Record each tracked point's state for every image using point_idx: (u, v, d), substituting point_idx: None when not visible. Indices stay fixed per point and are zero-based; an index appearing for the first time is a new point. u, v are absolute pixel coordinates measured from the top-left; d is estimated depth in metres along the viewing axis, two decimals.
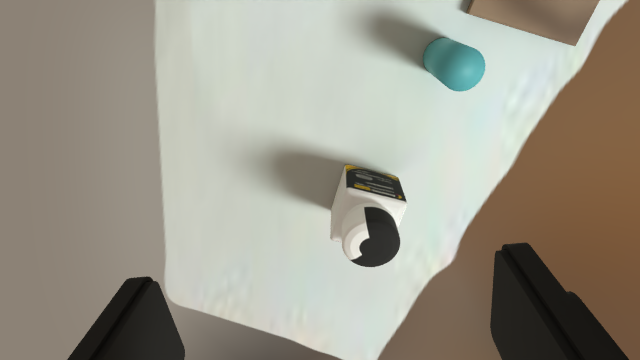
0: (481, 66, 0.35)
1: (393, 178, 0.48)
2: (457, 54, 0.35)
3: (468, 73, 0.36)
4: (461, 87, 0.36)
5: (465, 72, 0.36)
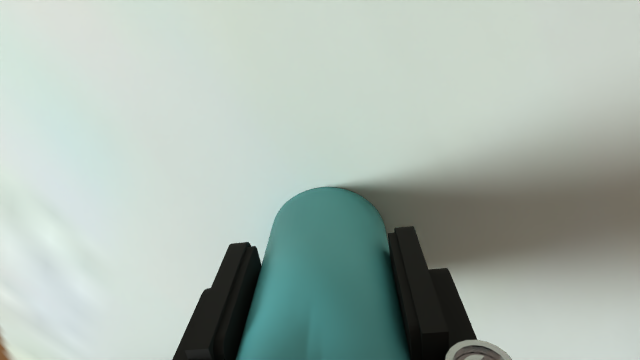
0: None
1: None
2: None
3: None
4: None
5: None
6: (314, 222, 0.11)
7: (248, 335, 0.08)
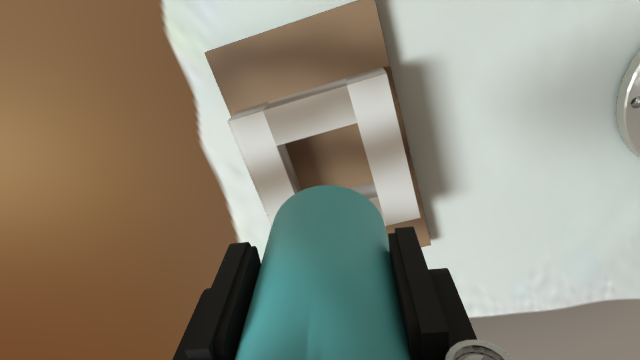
0: None
1: None
2: None
3: None
4: None
5: None
6: (314, 220, 0.11)
7: (248, 333, 0.08)
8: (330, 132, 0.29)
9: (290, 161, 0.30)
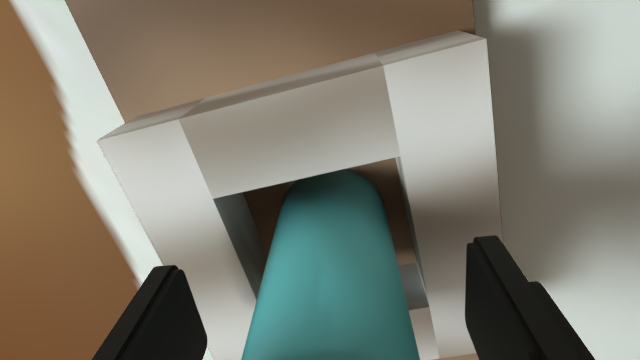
0: None
1: None
2: None
3: None
4: None
5: None
6: (321, 196, 0.12)
7: (266, 286, 0.09)
8: None
9: (250, 220, 0.15)
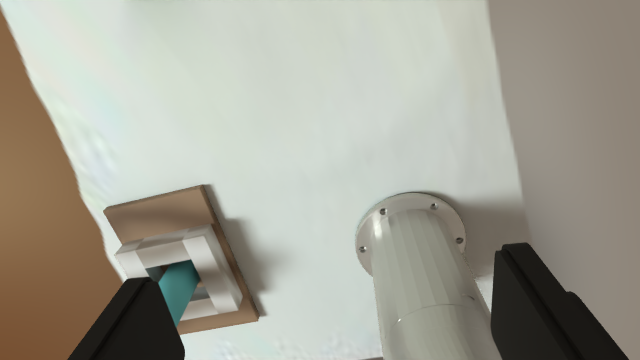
0: None
1: None
2: None
3: None
4: None
5: None
6: (174, 267, 0.45)
7: None
8: None
9: (161, 271, 0.47)
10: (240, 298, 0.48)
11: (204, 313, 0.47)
